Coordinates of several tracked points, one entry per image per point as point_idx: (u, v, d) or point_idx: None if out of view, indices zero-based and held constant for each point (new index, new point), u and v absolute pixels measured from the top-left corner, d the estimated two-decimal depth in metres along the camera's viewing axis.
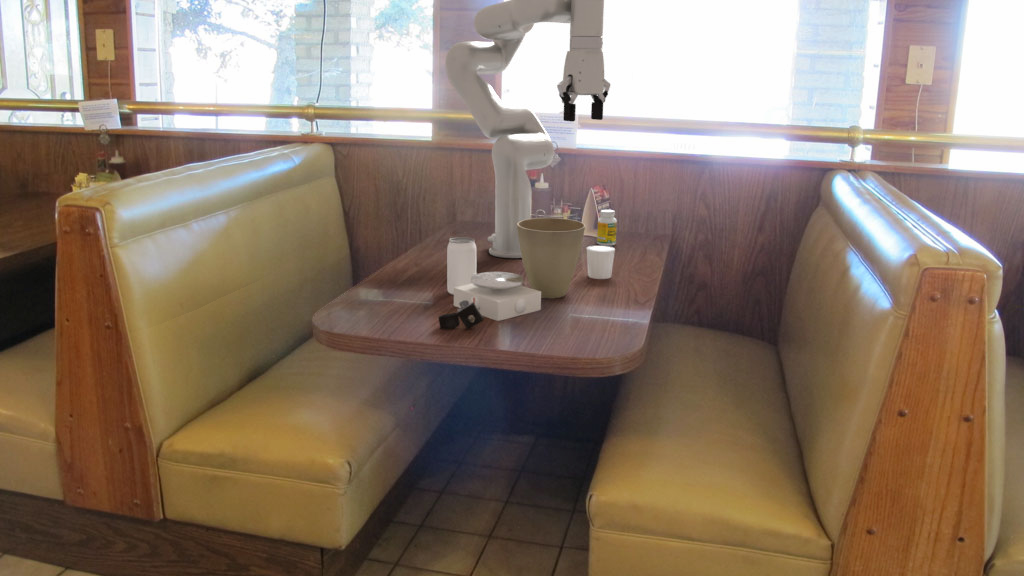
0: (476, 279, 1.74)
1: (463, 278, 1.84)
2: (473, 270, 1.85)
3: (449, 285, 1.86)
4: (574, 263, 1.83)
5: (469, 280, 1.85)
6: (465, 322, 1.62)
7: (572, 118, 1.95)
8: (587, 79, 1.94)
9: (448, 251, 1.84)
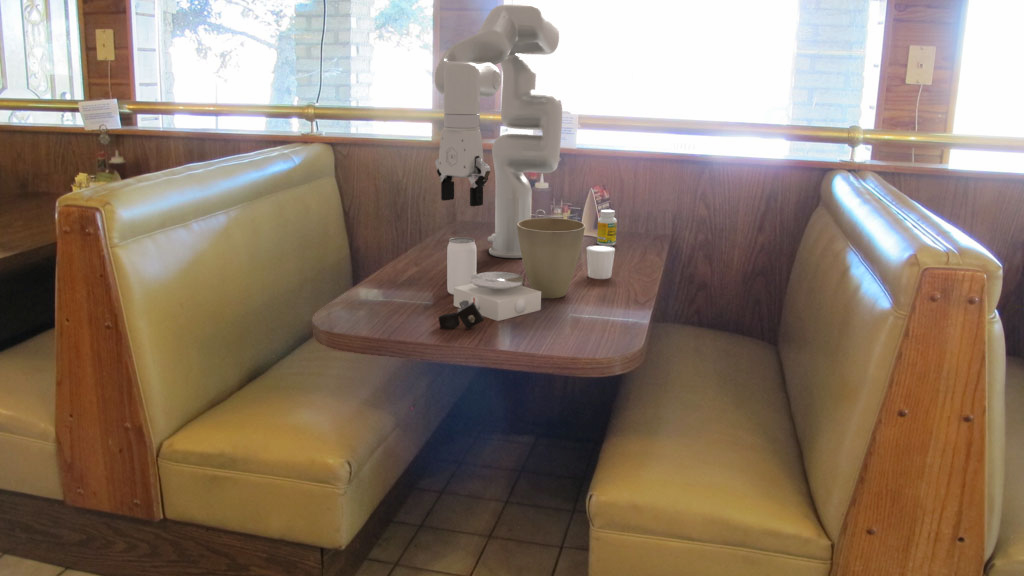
0: (476, 279, 1.74)
1: (463, 278, 1.84)
2: (473, 270, 1.85)
3: (449, 285, 1.86)
4: (574, 263, 1.83)
5: (469, 280, 1.85)
6: (465, 322, 1.62)
7: (481, 202, 1.80)
8: None
9: (448, 251, 1.84)
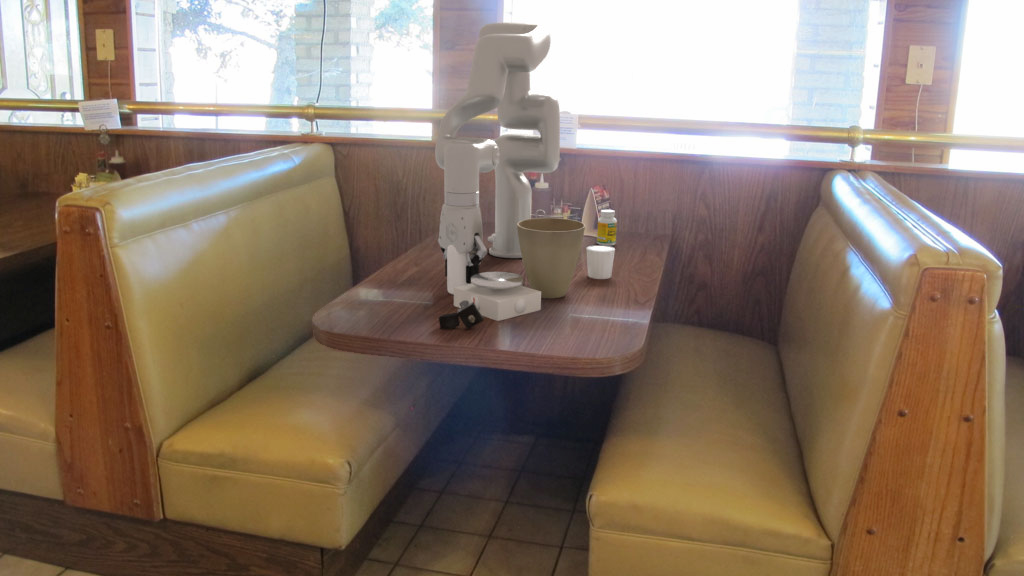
0: (476, 279, 1.74)
1: (463, 278, 1.84)
2: None
3: (449, 285, 1.86)
4: (574, 263, 1.83)
5: None
6: (465, 322, 1.62)
7: None
8: None
9: (448, 251, 1.84)
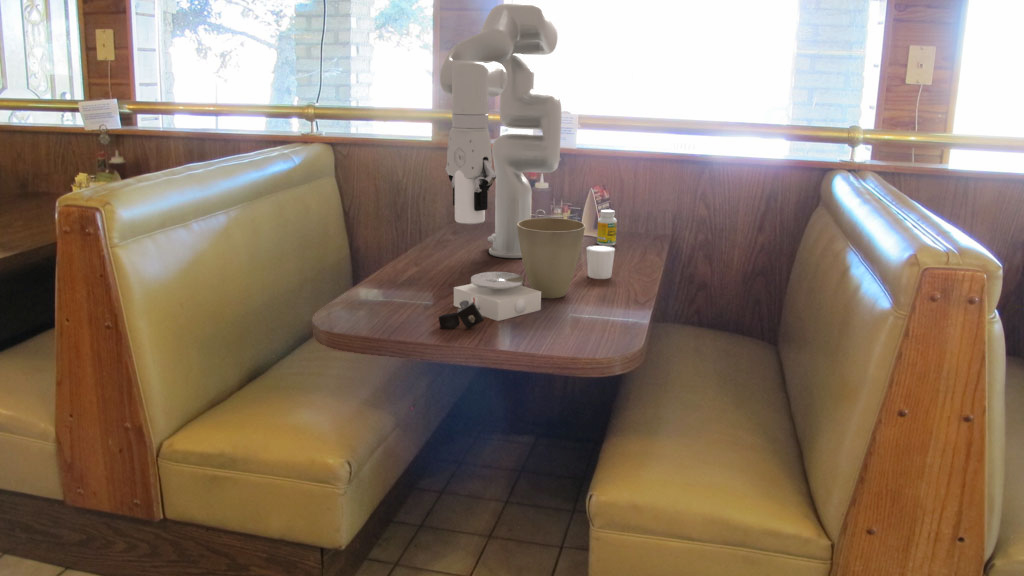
0: (476, 279, 1.74)
1: (471, 206, 1.77)
2: None
3: (456, 213, 1.79)
4: (574, 263, 1.83)
5: None
6: (465, 322, 1.62)
7: (486, 206, 1.78)
8: None
9: (455, 177, 1.77)
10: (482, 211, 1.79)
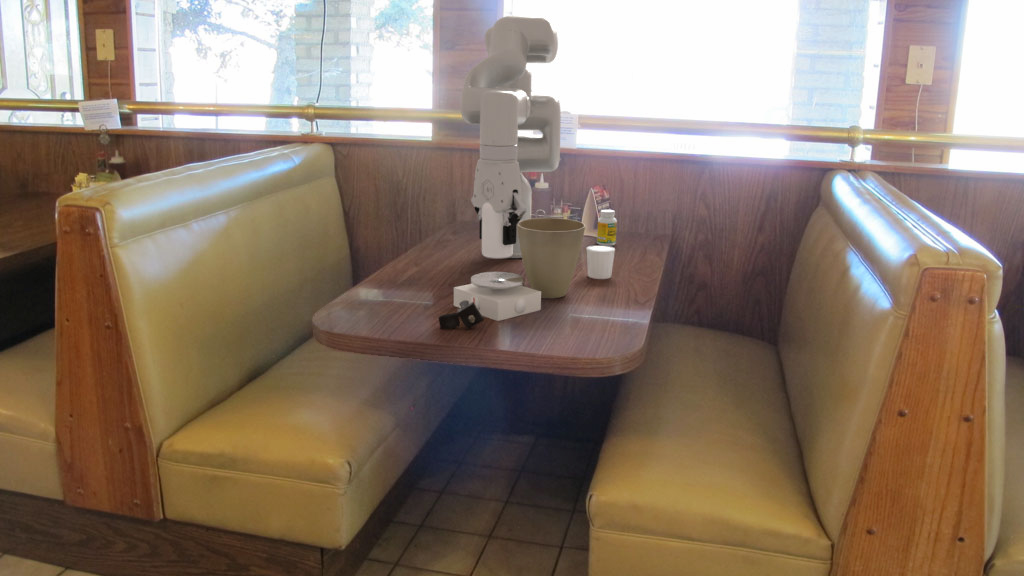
0: (476, 279, 1.74)
1: (499, 239, 1.70)
2: None
3: (484, 247, 1.72)
4: (574, 263, 1.83)
5: None
6: (465, 322, 1.62)
7: (515, 240, 1.71)
8: None
9: (483, 210, 1.70)
10: (511, 245, 1.72)
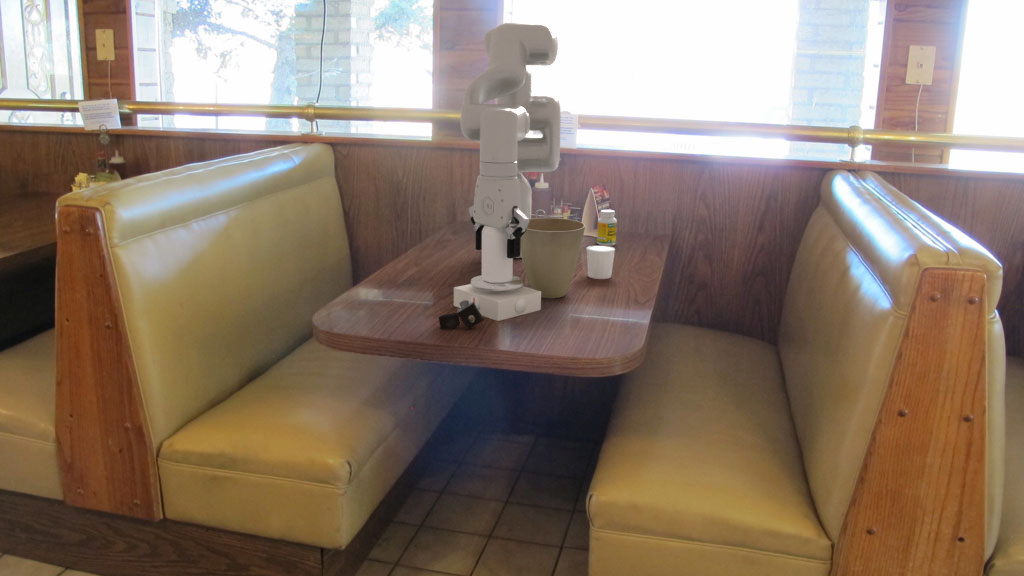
0: (476, 281, 1.74)
1: (499, 265, 1.72)
2: None
3: (484, 272, 1.73)
4: (574, 263, 1.83)
5: (506, 267, 1.72)
6: (465, 322, 1.62)
7: (519, 253, 1.71)
8: None
9: (483, 236, 1.72)
10: (510, 270, 1.74)
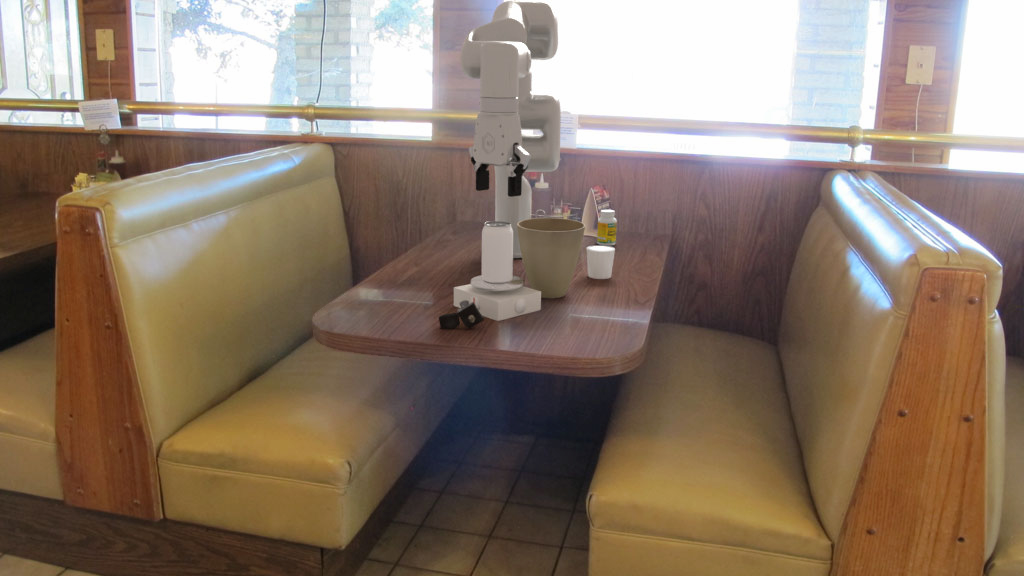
0: (476, 281, 1.74)
1: (499, 265, 1.72)
2: (509, 256, 1.73)
3: (484, 272, 1.73)
4: (574, 263, 1.83)
5: (506, 267, 1.72)
6: (465, 322, 1.62)
7: (520, 192, 1.68)
8: None
9: (483, 235, 1.72)
10: (510, 270, 1.74)
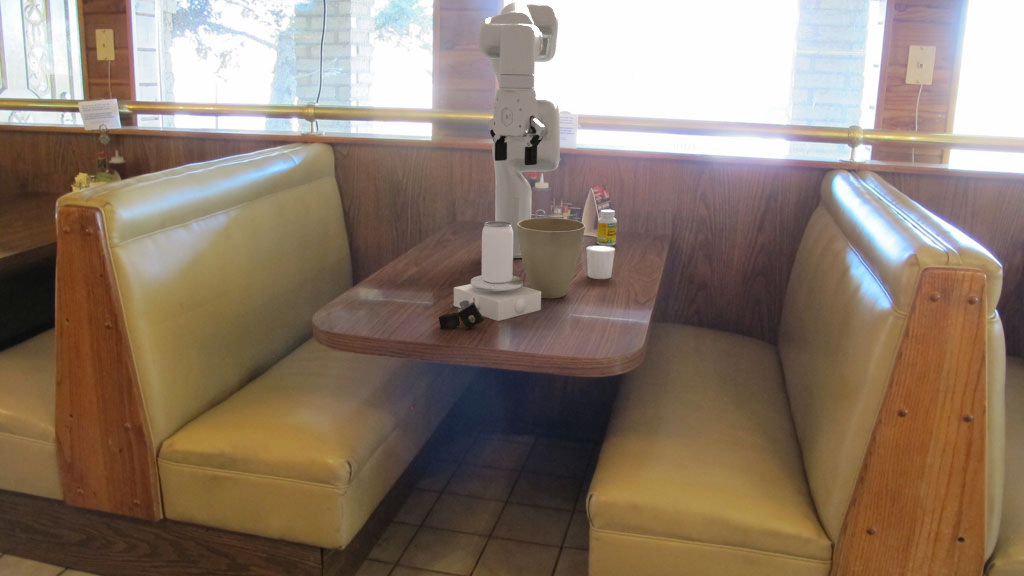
0: (476, 281, 1.74)
1: (499, 265, 1.72)
2: (510, 256, 1.72)
3: (484, 272, 1.73)
4: (574, 263, 1.83)
5: (506, 267, 1.72)
6: (465, 322, 1.62)
7: (535, 161, 1.84)
8: None
9: (483, 236, 1.72)
10: (510, 270, 1.74)
